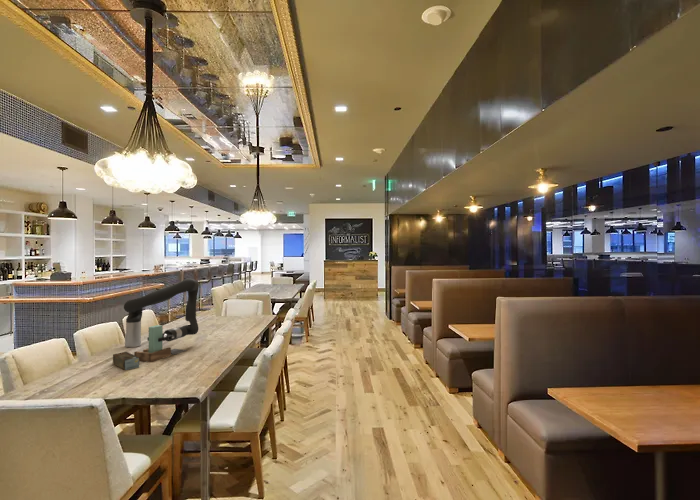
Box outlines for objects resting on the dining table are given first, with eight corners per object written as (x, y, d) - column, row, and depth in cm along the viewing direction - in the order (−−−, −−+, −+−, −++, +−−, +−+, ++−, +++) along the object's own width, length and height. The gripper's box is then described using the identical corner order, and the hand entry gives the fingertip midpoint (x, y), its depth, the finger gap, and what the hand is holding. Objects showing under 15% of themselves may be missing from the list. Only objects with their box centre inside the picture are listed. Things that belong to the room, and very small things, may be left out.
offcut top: (143, 354, 237) (143, 349, 238) (150, 351, 243) (150, 347, 243) (147, 354, 237) (147, 350, 237) (154, 351, 242) (154, 347, 242)
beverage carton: (124, 370, 214) (124, 359, 214) (112, 364, 226) (112, 353, 226) (139, 367, 220) (139, 356, 220) (126, 361, 232) (126, 350, 232)
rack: (133, 360, 234) (133, 351, 234) (153, 353, 249) (153, 346, 249) (151, 362, 230) (151, 353, 230) (170, 355, 245) (170, 347, 245)
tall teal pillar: (148, 359, 236) (148, 327, 236) (157, 356, 243) (157, 325, 243) (153, 359, 235) (153, 327, 235) (162, 357, 241) (162, 325, 242)
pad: (161, 353, 250) (161, 352, 250) (174, 349, 261) (174, 348, 261) (175, 354, 247) (175, 354, 247) (187, 350, 257) (187, 349, 257)
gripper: (164, 328, 255) (144, 332, 239) (181, 329, 250) (162, 334, 235) (164, 339, 255) (144, 344, 239) (181, 340, 250) (162, 346, 235)
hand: (153, 339), depth 237 cm, fingers open, 8 cm apart
